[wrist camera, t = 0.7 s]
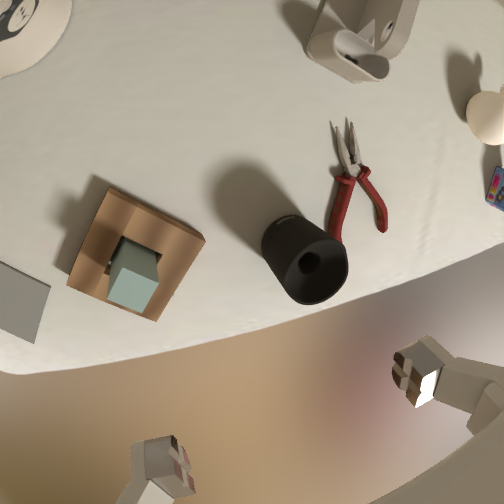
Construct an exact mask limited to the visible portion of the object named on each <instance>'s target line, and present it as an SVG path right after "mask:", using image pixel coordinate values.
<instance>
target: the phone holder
mask: <svg viewBox="0 0 504 504" xmlns="http://www.w3.org/2000/svg"><path fill="white" fill-rule="evenodd" d="M419 1H420V0H325V2H324V5H323V7H322V9H321V12H320V14H319V17H318V19H317V22H316V24H315V27H314V29H313V31H312V34H311V36H310V39H309V41H308V44H307V46H306V55H307V57H308V58H309V59H310V60H312V61H314V62H316V63H318V64H320V65H321V66H323V67H325V68H327V69H329V70H330V71H332V72H334V73H336V74H338V75H339V76H341V77H343V78H344V79H346V80H348V81H349V82H351V83H354V84H359V83H361V82H362V81H375V82H380V81H384V80H385V79H386V78H387V77H388V75H389V73H390V63H389V60H390V59H392V58H394V57H396V56H397V55H398V54H399V53H400V52H401V51H402V49H403V48H404V46H405V45H406V43H407V40H408V38H409V35H410V32H411V29H412V25H413V22H414V18H415V15H416V11H417V8H418V4H419ZM388 59H389V60H388Z"/></svg>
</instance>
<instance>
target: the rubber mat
mask: <svg viewBox="0 0 504 504" xmlns="http://www.w3.org/2000/svg"><path fill="white" fill-rule="evenodd" d="M50 288H51V286H49V285H47V284H45V283H43V282H40V281H38V280H36V279H34V278H32V277H30V276H28V275H26V274H24V273H22V272H20V271H18V270H16V269H14V268H12V267H10V266H8V265H6V264H4V263H2V262H1V261H0V329H3V330H5V331H7V332H9V333H11V334H13V335H15V336H17V337H20V338H22V339H24V340H26V341H28V342H31V343H33V344H34V342H35V338H36V334H37V330H38V327H39V323H40V320H41V316H42V313H43V310H44V307H45V303H46V300H47V297H48V294H49V291H50Z"/></svg>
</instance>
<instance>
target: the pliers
mask: <svg viewBox="0 0 504 504" xmlns="http://www.w3.org/2000/svg"><path fill="white" fill-rule="evenodd" d="M335 128H336V135H337V143H338V152H339V157H340V161H341V164H342V166H344V174H343V175H342V177H340V176H335V180H337V181H339V182H341V183H340V187H339V190H338V194H337V197H336V201H335V204H334V208H333V211H332V214H331V218H330V223H329V235H331V236H332V237H334V238H335V239H336V240H338V241H339V242H341V243H342V239H341V230H342V225H343V221H344V218H345V215H346V212H347V208H348V205H349V202H350V198H351V195H352V192H353V188H354V186H355V183H356V182H355V181H357V182H358V183H359V184H360V186H361V187H362V188H363V190H364V191H365V192H366V194H367V195H368V196H369V198H370V199H371V200H372V202H373V203H374V205H375V207H376V210H377V220H378V230H379V231H380V232H382V233H384V232H386V231H387V229H388V212H387V208H386V206H385V203H384V201H383V200H382V198H381V197H380V195H379V194H378V192H377V191H376V190H375V188H374V187H373V185H372V184H371V183H370V181H369V180H368V179H367V177H368V176H369V175H370V173H371V170H370V169H369V168H368V167H366V166H364V165H362V166H361V167H359V165H357V164H361V160H360V151H359V147H358V143H357V139H356V135H355V131H354V127H353V123H352V122H350V138H349V152H348V149H347V147H346V145H345V143H344V140H343V138H342V136H341V134H340V132H339V129H338V127H335ZM349 153H350V154H352V156H353V158H352V160H351V161H350V158H349V157H350V155H349Z"/></svg>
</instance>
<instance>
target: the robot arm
mask: <svg viewBox="0 0 504 504" xmlns="http://www.w3.org/2000/svg"><path fill="white" fill-rule="evenodd" d="M71 9H72V0H0V79H1V78H2V77H5V76H7V75H11V74H14V73H18V72H20V71H23V70H25V69H27V68H29V67H30V66H32V65H34V64H35V63H36V62H38V61H39V60H40V59H42V58H43V57H44V56H45V55H46V54H47V53H48V52H49V51H50V50H51V49H52V48H53V47H54V45H55V44H56V43H57V41H58V40H59V39H60V37H61V35H62V34H63V32H64V30H65V28H66V26H67V23H68V21H69V18H70V14H71ZM393 360H394V361H395V364H394V366H393V367H392V377H393V380H394V382H395V384H396V385H397V386H398V388H399V389H402V390H405V391H406V397H407V399H408V400H409V401H410V402H411V403H412V404H413V406H414V407H415V408H416V407H418V406H420V405H421V404H423V403H425V402H426V401H428V400H430V399H431V398H433V399H435V400H437V401H440V402H442V403H445V404H448V405H450V406H452V407H455V408H457V409H460V410H463V411H465V412H468V413H471V414H472V415H471V417H470V419H469V420H468V422H467V426H466V427H467V428H468V429H469V431H471V433H472V434H473V435H474V436H473V437H472V438H471V439H470V440H468V441H467V442H466V443H465V444H463V445H462V446H461V447H460V448H458V449H457V450H455V451H454V452H453V453H451V454H450V455H448V456H447V457H446V458H444V459H443V460H441V461H440V462H439V463H437V464H436V465H434V466H433V467H431V468H430V469H428V470H427V471H425V472H423V473H422V474H420V475H419V476H417V477H416V478H414V479H412V480H411V481H409V482H407V483H406V484H404V485H402V486H401V487H399V488H397V489H395V490H393V491H392V492H390V493H388V494H386V495H384V496H382V497H381V498H379V499H377V500H375V501H373V502H371V503H369V504H504V367H500V366H495V365H491V364H487V363H482V362H478V361H474V360H469V359H465V358H461V357H457V358H454V357H453V356H452V355H451V354H450V353H449V352H448V351H447V350H445V349H444V348H443V347H442V346H441V345H440V344H439V343H438V342H437V341H436V340H435V339H433V338H432V337H431V336H429V335H426V336H424V337H422V338H421V339H419V340H417V341H415V342H413V343H411V344H409V345H407V346H406V347H404V348H402V349H400V350H398V351H397V352H395V354H394V357H393ZM130 450H131V451H130V452H131V453H130V454H131V480H132V482H129V483H128V484H127V485H126V487H125V488H124V490H123V492H122V494H121V495H120V497H119V498H118V500H117V502H116V503H115V504H173V502H174V498H179V497H184V496H189V495H193V494H196V491H195V486H194V481H193V478H192V477H191V476H190V475H189V474H188V473H189V471H190V469H191V465H190V461H189V458H188V455H187V453H186V451H185V449H184V448H183V446H181V445H178V443H177V439H176V438H175V437H174V435H170V436H165V437H160V438H155V439H149V440H143V441H138V442H132V444H131V447H130Z"/></svg>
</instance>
